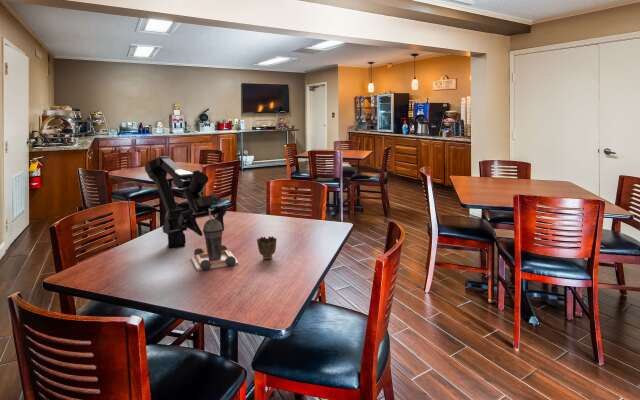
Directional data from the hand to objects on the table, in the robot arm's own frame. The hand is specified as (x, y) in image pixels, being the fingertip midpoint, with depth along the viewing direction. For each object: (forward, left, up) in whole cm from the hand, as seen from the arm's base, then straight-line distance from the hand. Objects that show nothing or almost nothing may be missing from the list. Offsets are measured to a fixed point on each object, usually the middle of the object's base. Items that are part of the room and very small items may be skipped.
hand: (212, 232), depth 156 cm
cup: (+19, -6, -11) cm, 23 cm away
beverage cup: (0, 0, -11) cm, 11 cm away
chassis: (0, 0, -11) cm, 11 cm away
